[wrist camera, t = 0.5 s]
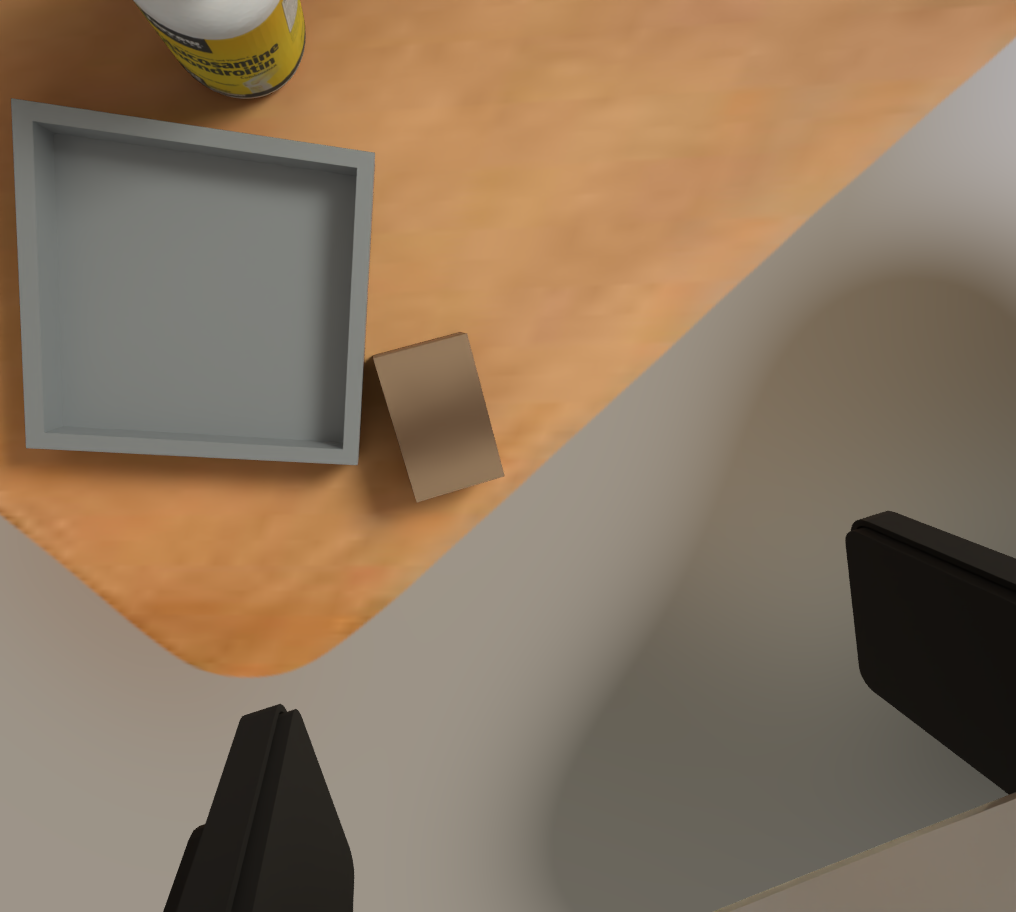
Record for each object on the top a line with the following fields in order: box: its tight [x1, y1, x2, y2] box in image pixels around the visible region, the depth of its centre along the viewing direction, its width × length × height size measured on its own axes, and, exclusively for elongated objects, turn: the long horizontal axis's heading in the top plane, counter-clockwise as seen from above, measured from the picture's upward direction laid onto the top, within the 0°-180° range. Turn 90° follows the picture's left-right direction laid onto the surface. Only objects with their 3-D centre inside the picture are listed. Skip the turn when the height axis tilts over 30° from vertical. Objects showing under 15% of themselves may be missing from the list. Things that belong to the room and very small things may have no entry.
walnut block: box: [373, 332, 504, 502], centre depth 36 cm, size 8×5×3 cm, turn 14°
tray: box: [11, 98, 375, 465], centre depth 33 cm, size 16×16×3 cm
